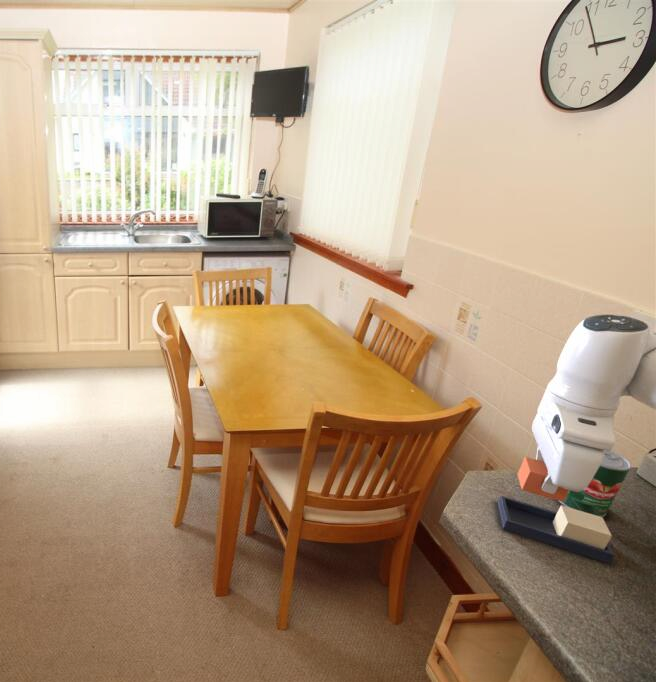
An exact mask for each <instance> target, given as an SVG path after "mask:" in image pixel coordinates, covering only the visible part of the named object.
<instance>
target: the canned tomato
mask: <svg viewBox="0 0 656 682" xmlns="http://www.w3.org/2000/svg"><path fill="white" fill-rule="evenodd" d="M631 469H632V463H631V461H629V460H628V459H627V458H626V457H624V456H622V455H621V454H619V453H618V452H615V451H614V450H611V451H607V450H604V457H603V460H602V462H601V464H600V466H599V468H598V470H597V472H596V473H595V475H594V477H593V478H592V480H591V482H590V483H589V485H588V486H587V487H586V489H584V490H582V491H580V492H576V491H572V490H569V492H568V494H567V496H566V498H565V500H564V502H561V501H558V502H559V504H561V505H562V506H565V507H569V508H572V509H576V510H579V511H582V512H586V513H589V514H593V515H596V516H599V517H602V518H604V517H605V516H606V515H607V513H608V511H609V509H610V508H611V506H612V504H613V501H614V500H615V498H616V497H617V494H618V492H619V491H620V489H621V487H622V484H623V483H624V481H625V479H626V477H627V476H628V474H629V472H630V470H631Z"/></svg>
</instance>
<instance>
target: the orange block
mask: <svg viewBox="0 0 656 682" xmlns="http://www.w3.org/2000/svg"><path fill="white" fill-rule="evenodd" d="M547 476H548V469H547V467H546V464H545V462H543V461H539V460H536V458H532V457H528V456H525V457H524V458H523V461H522V463H521V465H520V467H519V469H518V472H517V478H518V481H519V484H520V489H521V490H522V491H524V492H526V493H531V494H534V495H538V496H541V497H544V498H548V499H550V500H551V499H552V500H554V501H557V502H559V501H561V502H564V500H565V498H566V496H567V494H568V492H569V490H568V489H565V488H562V487H558V488H557V490H556V492H555V493H554V494H551V493H547V492H544V491H543V490H542V488H541V482H542V480H543V478H546V477H547Z"/></svg>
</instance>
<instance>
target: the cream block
mask: <svg viewBox="0 0 656 682" xmlns="http://www.w3.org/2000/svg"><path fill="white" fill-rule="evenodd" d="M556 512H557V514H556V516H555V518H554V521H553V525H554V528H555V530H556V533H557V535H560V536H563V537H566V538H569V539H572V540H575V541H578V542H582V543H585V544H588V545H591V546H594V547H597V548H600V549H605V548H606V546H607V544H608V543H610V542H609V541H611V538H612V537H613V535H612V533H611V531H610V530H609V527H608V525H607V523H606V521H605V520H604V517H599V516H596V515H593V514H589V513H586V512H582V511H579V510H576V509H572V508H569V507H566V506H564V505H563V504H561V505H560V506H559V508H558V510H557V511H556Z"/></svg>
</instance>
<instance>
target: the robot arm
mask: <svg viewBox="0 0 656 682" xmlns="http://www.w3.org/2000/svg"><path fill="white" fill-rule="evenodd" d="M621 397H631V398H632V399H634V400H635V401H637V402H640V403H641V404H643V405H645V406H647V407H649V408H651V409H653V410H654V411H656V333H654V332H652V330H650V326H649V325H648V324H647V323H646V322H644V321H642V320H640V319H637V318H634V317H630V316H627V315H618V314H617V315H616V314H596V315H592V316H588V317H586V318H584V319H583V320H581V322H579V323H578V324H577V326H576V327H575V328H574V329H573V331H572V332H571V333H570V335H569V337H568V339H567V341H566V343H565V344H564V346H563V348H562V350H561V353H560V355H559V358H558V360H557V363H556V372H555V375H554V377H553V378H552V379H551V380H550V381H549V382H548V384H547V386H546V388H545V391H544V392H543V395H542V398H541V400H540V403H539V405H538V407H537V412H536V415H535V417H534V419H533V421H532V424H531V432H532V434H533V437H534V439H535V442H536V445H537V448H536V456H535V459H536V460H539V461H543V462H545V464H546V467H547V469H548V476H547V477H546V478H543V480H542V482H541V488H542V490H543V491H544V492H547V493H551V494H554V493H555V492H556V490H557V488H558V487H562V488H565V489H568V490H572V491H576V492H580V491H582V490H584V489H586V487H587V486H588V485H589V483H590V482H591V480H592V478H593V477H594V475H595V473H596V472H597V470H598V468H599V466H600V464H601V462H602V460H603V457H604V450H607V451H613V449H614V447H615V446H616V442H617V439H616V434H615V428H614V423H615V415H616V412H617V411H618V408H619V407H620V404H621Z"/></svg>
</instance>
